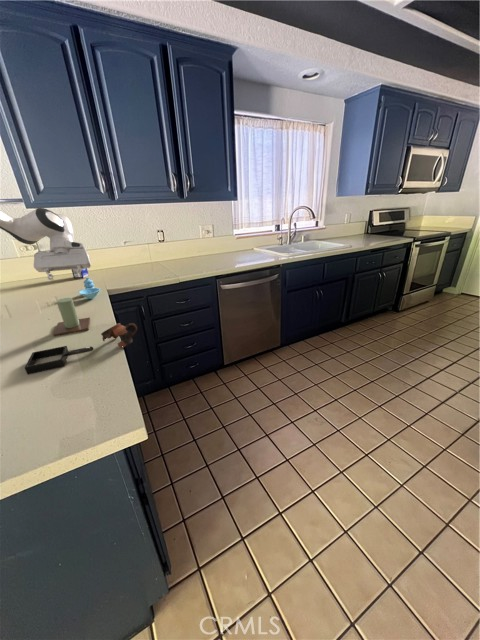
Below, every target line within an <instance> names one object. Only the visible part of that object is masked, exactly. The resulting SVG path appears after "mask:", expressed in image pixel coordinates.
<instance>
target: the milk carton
mask: <svg viewBox="0 0 480 640" xmlns="http://www.w3.org/2000/svg"><path fill="white" fill-rule="evenodd" d="M70 271H71V272H72V277H73V279H74V278H84V279H86V278H88V277H89V276H90V274H89V270H88V268H82V271H81V273H80V274H79V275H80V277H75V276H74V272H76V271H77V269H71V270H70ZM87 276H88V277H87ZM85 277H86V278H85Z"/></svg>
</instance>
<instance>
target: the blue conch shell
mask: <svg viewBox="0 0 480 640" xmlns="http://www.w3.org/2000/svg"><path fill="white" fill-rule="evenodd" d="M83 284H84V285H83V286H84V288H83V289H81V290H79V291H78V295H81V296H82V297H84V298H86V299H88V300H94V299H95V298H96V297H97V296H98V294H99V293H100V291H101V288H99V287H95V283H94V281H93V279H90V277H86V278H85V280H83Z"/></svg>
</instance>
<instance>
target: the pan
mask: <svg viewBox="0 0 480 640" xmlns="http://www.w3.org/2000/svg"><path fill="white" fill-rule="evenodd" d="M94 349H95V348H94V346H86V347H81V348H77V349H76V348H75V349H72V350H69V349H68V345H64V346H58V347H53V348H47V349H44V350H43V349H42V350H38V351H33V352H32V353H31V355H30V356H29V358H28V360H27V362H26V364H25V366H24V370H25V372H26V374H27V375H32V374H37V373H42V372H45V371H46V372H47V371H50V370H54V369H59V368H64V367H66V364H65V363H67V360H68V357H70V356H74V355H80V354H85V353H89V352H93V351H94ZM60 355H61V357H60V359H56V360H50V361H46V362H41V363H36V362H37V360H39V359H40V358H41V359H45V358H50V357H54V356H60ZM49 356H50V357H49ZM44 357H45V358H44ZM66 359H67V360H66ZM35 361H36V362H35Z"/></svg>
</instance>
